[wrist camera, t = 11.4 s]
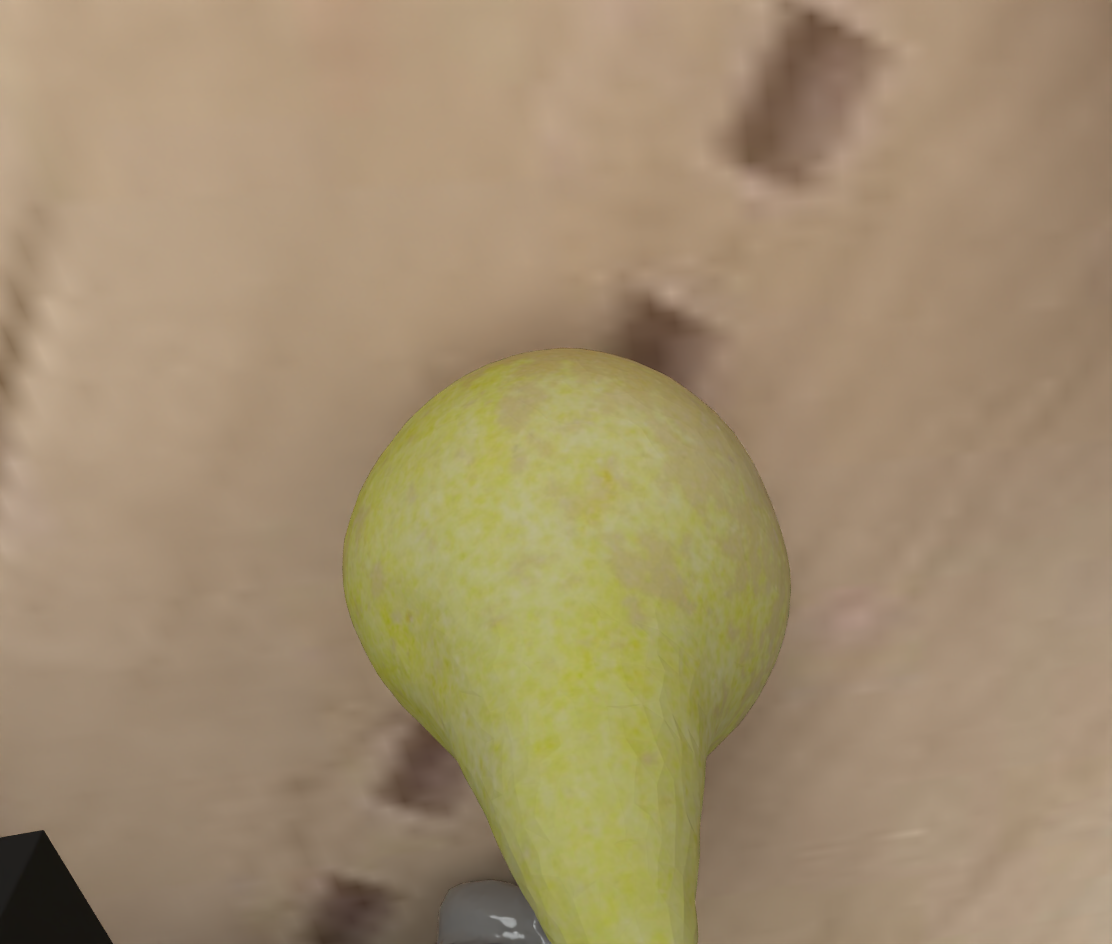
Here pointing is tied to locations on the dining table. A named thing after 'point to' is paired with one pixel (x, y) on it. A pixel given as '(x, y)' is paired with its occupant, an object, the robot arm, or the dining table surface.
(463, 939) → the figurine
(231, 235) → the dining table surface
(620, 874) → the fruit
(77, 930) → the robot arm
